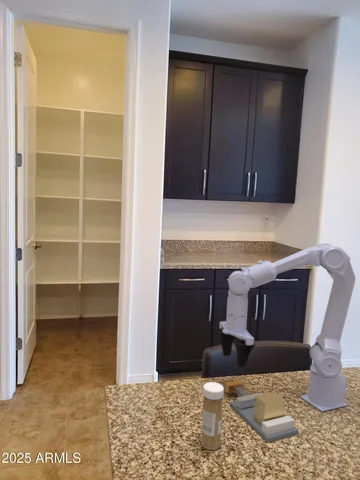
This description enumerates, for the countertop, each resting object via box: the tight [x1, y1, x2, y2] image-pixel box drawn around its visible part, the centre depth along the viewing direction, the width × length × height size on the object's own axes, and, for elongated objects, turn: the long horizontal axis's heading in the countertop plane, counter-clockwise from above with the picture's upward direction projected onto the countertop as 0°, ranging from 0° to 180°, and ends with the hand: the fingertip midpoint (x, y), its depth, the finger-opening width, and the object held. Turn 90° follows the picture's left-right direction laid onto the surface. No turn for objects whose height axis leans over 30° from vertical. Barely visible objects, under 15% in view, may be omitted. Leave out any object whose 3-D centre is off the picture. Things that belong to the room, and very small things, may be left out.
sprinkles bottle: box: [200, 381, 225, 451], centre depth 79 cm, size 5×5×14 cm
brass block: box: [254, 391, 286, 427], centre depth 87 cm, size 6×4×6 cm, turn 114°
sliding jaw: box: [224, 379, 264, 409], centre depth 98 cm, size 8×10×2 cm
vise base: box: [229, 400, 299, 443], centre depth 90 cm, size 9×16×3 cm, turn 24°
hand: (233, 360), depth 102 cm, fingers open, 7 cm apart
